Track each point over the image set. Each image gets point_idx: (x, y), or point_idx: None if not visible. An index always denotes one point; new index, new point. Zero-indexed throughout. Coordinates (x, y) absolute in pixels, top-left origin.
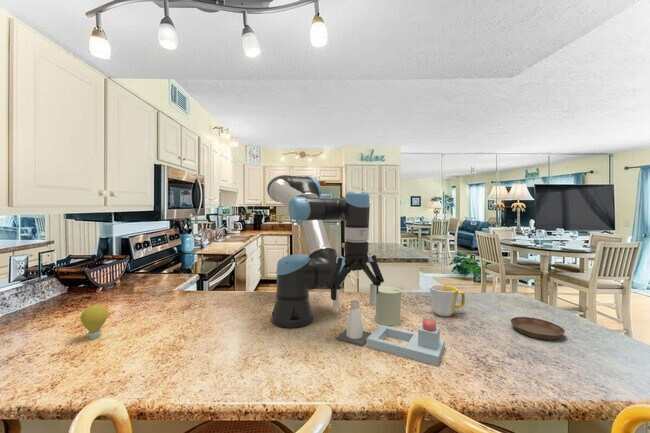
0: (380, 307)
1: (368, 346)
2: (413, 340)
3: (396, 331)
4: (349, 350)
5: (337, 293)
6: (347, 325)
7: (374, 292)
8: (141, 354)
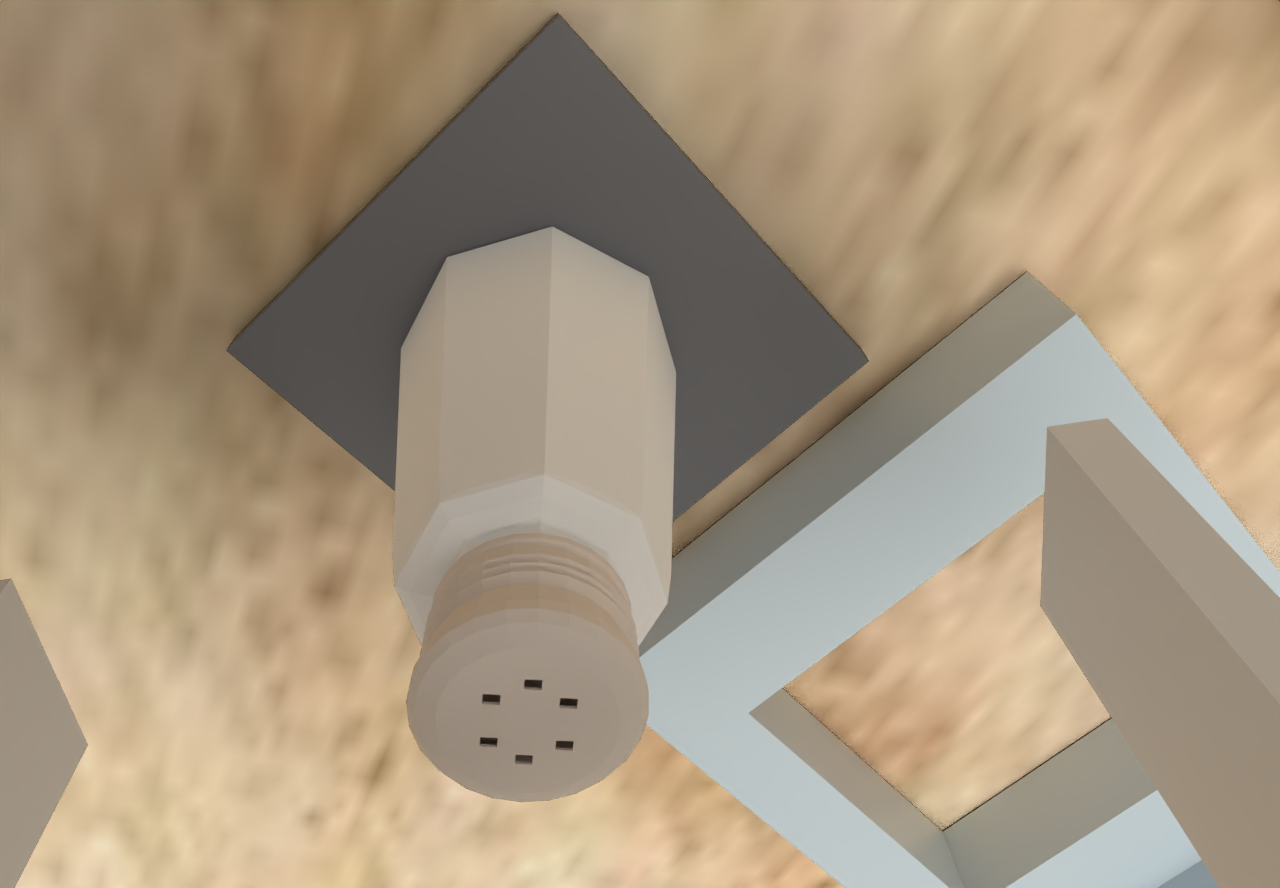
0: None
1: None
2: (1144, 831)
3: None
4: (349, 647)
5: None
6: (399, 424)
7: (1203, 847)
8: None
